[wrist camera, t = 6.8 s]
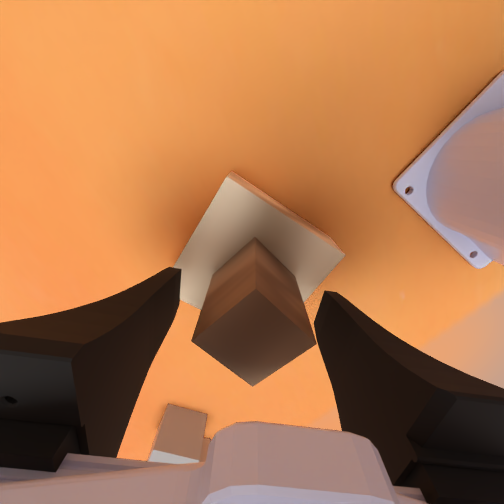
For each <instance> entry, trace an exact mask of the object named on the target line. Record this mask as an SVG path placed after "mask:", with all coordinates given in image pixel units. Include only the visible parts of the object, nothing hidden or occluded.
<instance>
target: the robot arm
mask: <svg viewBox="0 0 504 504" xmlns="http://www.w3.org/2000/svg"><path fill="white" fill-rule="evenodd" d="M407 187H410V190H409V192H408V193H406V194H405V189H406V188H407ZM393 189H394V191H395V192H396V193H397V194H398V195H399V196H400V197H401V198H402V199H403V200H404V201H405V202H406V203H407V204H408V205H409V206H410V207H411V208H412V209H413V210H415V211H416V212H417V213H418V214H419V215H420V216H421V217H422V218H423V219H424V220H425V221H426V222H427V223H428V224H429V225H430V226H431V227H432V228H433V229H434V230H435V231H436V232H437V233H438V234H439V235H440V236H441V237H442V238H443V239H444V240H446V241H447V242H448V243H449V244H450V245H451V246H452V247H453V248H454V249H455V250H456V251H457V252H458V253H459V254H460V255H461V256H462V257H463V258H464V259H465V260H466V261H467V262H468V263H469V264H470V265H471V266H473V267H475V268H477V269H480V268H483V267H485V266H486V265H488V264H489V263H490V262H492V261H495V262H497V263H500V264H502V265H504V70H503V71H502V72H501V73H500V74H499V75H498V76H497V77H496V78H495V79H494V80H493V81H492V82H491V83H490V84H489V85H488V86H487V87H486V88H485V89H484V90H483V91H482V92H481V93H480V94H479V95H478V96H477V97H476V98H475V99H474V100H473V101H472V102H471V103H470V104H469V105H468V106H467V107H466V108H465V109H464V110H463V111H462V113H461V114H460V115H459V116H458V117H457V118H456V119H455V120H454V121H453V122H452V123H451V124H450V125H449V126H448V127H447V128H446V129H445V130H444V131H443V132H442V133H441V134H440V135H439V136H438V137H437V138H436V139H435V140H434V141H433V142H432V143H431V144H430V145H429V146H428V147H427V148H426V149H425V150H424V151H423V152H422V153H421V154H420V155H419V156H418V157H417V158H416V159H415V161H414V162H413V163H412V164H411V165H410V166H409V167H408V168H407V169H406V170H405V171H404V172H403V173H402V174H401V175H400V176H399V177H398V178H397V179H396V180H395V181H394V183H393ZM471 252H473V253H472V254H471V255H470V253H471ZM181 271H182V269H179V268H172V267H168V268H166V269H164V270H162V271H161V272H159V273H157V274H155V275H154V276H152V277H150V278H148V279H146V280H145V281H143V282H141V283H139V284H137V285H135V286H133V287H131V288H129V289H127V290H125V291H122V292H120V293H118V294H115V295H113V296H110V297H108V298H105V299H103V300H100V301H97V302H94V303H90V304H87V305H84V306H80V307H77V308H74V309H70V310H66V311H62V312H58V313H53V314H48V315H44V316H39V317H33V318H27V319H21V320H15V321H9V322H2V323H0V504H504V389H503V388H500V387H498V386H496V385H493V384H490V383H488V382H486V381H483V380H481V379H478V378H476V377H473V376H470V375H468V374H466V373H464V372H462V371H460V370H457V369H455V368H453V367H451V366H449V365H447V364H444V363H442V362H440V361H438V360H436V359H434V358H433V357H431V356H429V355H427V354H425V353H423V352H421V351H420V350H418V349H416V348H414V347H412V346H411V345H409V344H407V343H406V342H404V341H403V340H401V339H399V338H398V337H396V336H395V335H393V334H392V333H390V332H389V331H387V330H386V329H384V328H383V327H382V326H380V325H379V324H377V323H376V322H375V321H373V320H372V319H371V318H369V317H368V316H367V315H366V314H364V313H363V312H362V311H360V310H359V309H358V308H357V307H355V306H354V305H353V304H352V303H350V302H349V301H348V300H347V299H345V298H344V297H343V296H341V295H340V294H338V293H337V292H331V291H324V294H323V297H322V300H321V303H320V306H319V309H318V312H317V315H316V318H315V321H314V327H315V333H316V338H317V342H318V345H319V348H320V351H321V354H322V357H323V360H324V363H325V366H326V369H327V372H328V375H329V378H330V381H331V384H332V388H333V391H334V395H335V400H336V404H337V409H338V413H339V418H340V423H341V428H342V431H337V430H328V429H320V428H311V427H302V426H293V425H284V424H275V423H267V422H258V421H253V422H236V423H234V424H232V425H230V426H228V427H225V428H223V429H221V430H219V431H218V432H217V433H216V434H215V436H214V437H213V439H212V440H211V442H210V444H209V445H208V451H207V457H206V461H205V462H197V463H187V464H171V463H161V462H151V461H141V460H131V459H121V458H116V457H117V454H118V451H119V448H120V445H121V442H122V439H123V437H124V434H125V431H126V428H127V425H128V423H129V420H130V417H131V414H132V412H133V409H134V406H135V404H136V401H137V398H138V396H139V393H140V390H141V388H142V385H143V383H144V380H145V378H146V375H147V373H148V370H149V368H150V366H151V364H152V361H153V359H154V357H155V355H156V354H157V352H158V350H159V348H160V346H161V344H162V342H163V340H164V338H165V336H166V334H167V332H168V330H169V328H170V327H171V325H172V323H173V320H174V318H175V315H176V312H177V309H178V306H179V302H180V286H181Z"/></svg>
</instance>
